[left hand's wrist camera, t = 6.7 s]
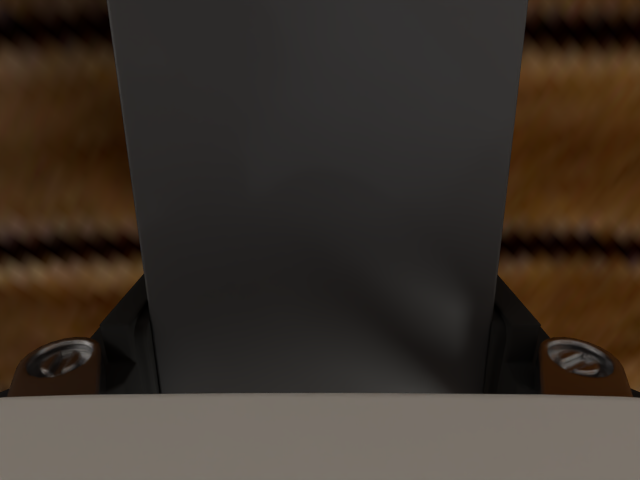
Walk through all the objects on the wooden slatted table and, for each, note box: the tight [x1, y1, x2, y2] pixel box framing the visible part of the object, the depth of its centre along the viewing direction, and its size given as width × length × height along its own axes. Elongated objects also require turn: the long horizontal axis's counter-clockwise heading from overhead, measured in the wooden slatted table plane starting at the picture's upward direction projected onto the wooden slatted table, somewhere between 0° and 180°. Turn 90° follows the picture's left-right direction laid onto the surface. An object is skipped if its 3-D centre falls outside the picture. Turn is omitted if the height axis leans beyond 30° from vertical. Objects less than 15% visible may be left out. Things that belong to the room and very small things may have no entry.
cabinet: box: [107, 0, 528, 394], centre depth 11 cm, size 21×6×10 cm, turn 1°
